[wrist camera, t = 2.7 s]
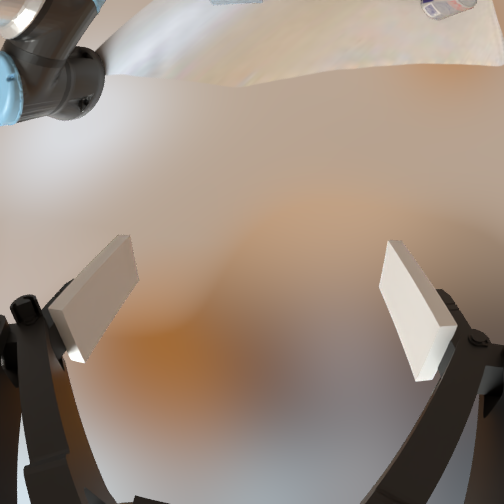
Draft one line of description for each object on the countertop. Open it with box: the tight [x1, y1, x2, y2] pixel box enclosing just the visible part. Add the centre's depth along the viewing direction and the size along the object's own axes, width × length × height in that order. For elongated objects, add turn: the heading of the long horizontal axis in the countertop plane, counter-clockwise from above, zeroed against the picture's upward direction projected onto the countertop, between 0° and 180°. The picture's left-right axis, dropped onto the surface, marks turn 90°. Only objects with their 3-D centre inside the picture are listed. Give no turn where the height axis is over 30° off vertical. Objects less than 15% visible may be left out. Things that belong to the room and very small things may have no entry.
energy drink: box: [421, 0, 477, 20], centre depth 31 cm, size 5×5×12 cm
